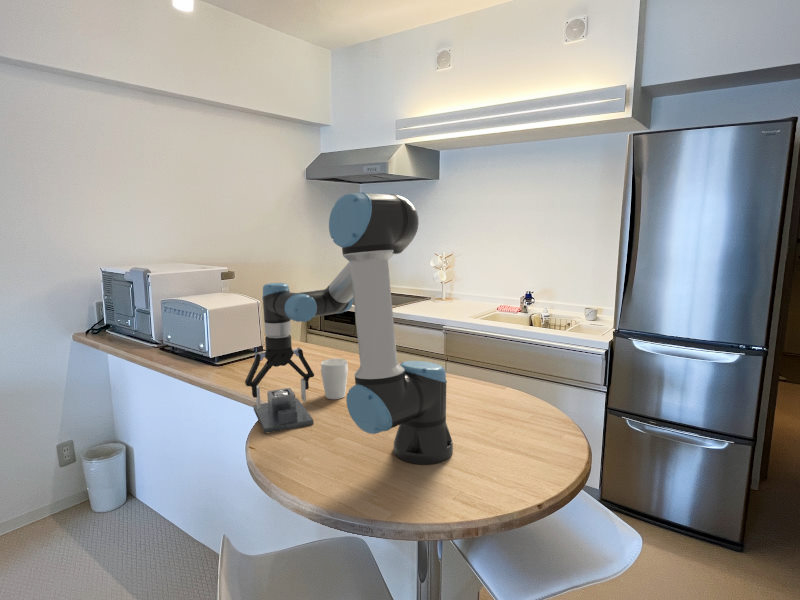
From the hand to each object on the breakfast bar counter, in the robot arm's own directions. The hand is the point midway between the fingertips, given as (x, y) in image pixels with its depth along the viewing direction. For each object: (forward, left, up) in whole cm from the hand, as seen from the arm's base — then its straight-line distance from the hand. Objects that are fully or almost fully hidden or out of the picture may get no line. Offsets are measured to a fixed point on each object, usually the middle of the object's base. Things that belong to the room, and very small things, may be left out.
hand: (281, 403), depth 147 cm
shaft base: (0, 0, -4) cm, 4 cm away
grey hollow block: (0, 0, -3) cm, 3 cm away
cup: (+10, -20, -4) cm, 23 cm away
